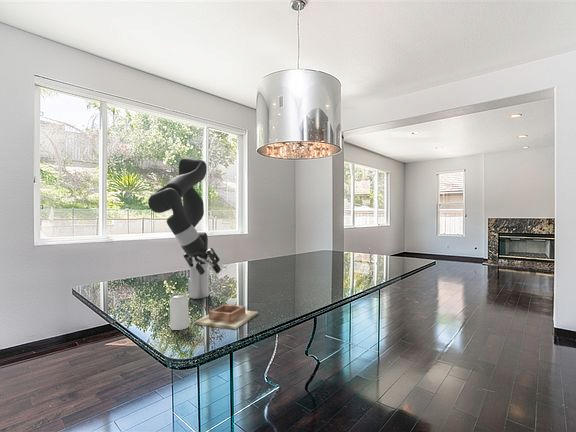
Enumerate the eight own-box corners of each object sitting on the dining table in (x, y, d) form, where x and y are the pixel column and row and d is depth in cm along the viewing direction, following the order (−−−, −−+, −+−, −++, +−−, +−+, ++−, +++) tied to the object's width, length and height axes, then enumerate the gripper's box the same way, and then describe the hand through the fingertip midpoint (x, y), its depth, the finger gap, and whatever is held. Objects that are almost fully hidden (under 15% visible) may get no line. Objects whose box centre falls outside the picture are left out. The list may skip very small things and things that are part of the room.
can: (173, 325, 117) (172, 294, 117) (190, 324, 118) (189, 293, 117) (168, 331, 110) (167, 298, 110) (186, 330, 111) (185, 297, 111)
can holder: (194, 324, 118) (194, 313, 118) (221, 310, 134) (221, 301, 134) (235, 329, 111) (235, 318, 111) (257, 314, 128) (257, 304, 128)
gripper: (208, 230, 111) (229, 265, 117) (182, 235, 118) (203, 267, 124) (196, 243, 105) (218, 278, 111) (169, 247, 112) (192, 280, 119)
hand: (210, 272), depth 118 cm, fingers open, 8 cm apart
